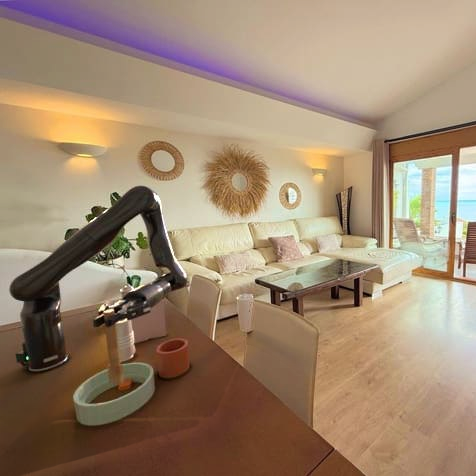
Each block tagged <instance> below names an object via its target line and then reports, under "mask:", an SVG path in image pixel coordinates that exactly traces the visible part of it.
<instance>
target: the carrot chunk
mask: <svg viewBox="0 0 476 476" xmlns="http://www.w3.org/2000/svg"><path fill="white" fill-rule="evenodd" d="M132 385H133V382H132V379H129V380H124V382H123V383H120V385H118V386H117V387H118V391H119V392H120V391H124V390H129V389H131V387H132Z"/></svg>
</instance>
